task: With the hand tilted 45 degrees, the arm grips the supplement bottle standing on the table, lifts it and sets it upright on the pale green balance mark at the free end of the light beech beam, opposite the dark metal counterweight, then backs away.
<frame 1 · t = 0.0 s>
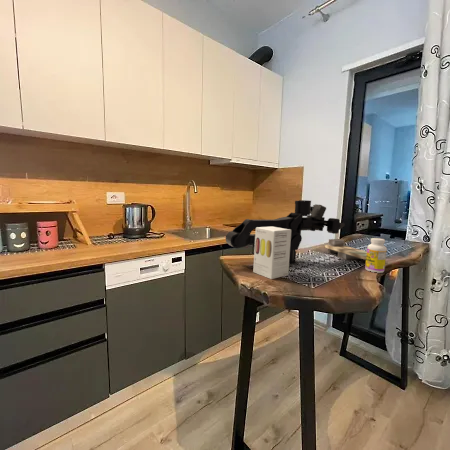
hand: (336, 223, 117), 17 cm above the table, tool horizontal, fingers open, 9 cm apart
supplement bottle: (374, 271, 101), on the table
supplement box: (270, 274, 93), on the table
balance beam: (349, 257, 122), on the table
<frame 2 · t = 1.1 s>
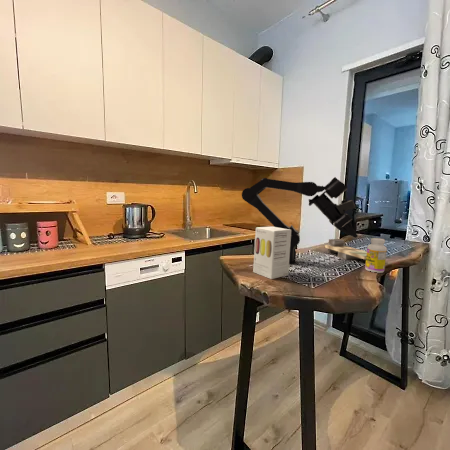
hand: (354, 235, 102), 14 cm above the table, tool tilted 45°, fingers open, 9 cm apart
nothing on the table moved.
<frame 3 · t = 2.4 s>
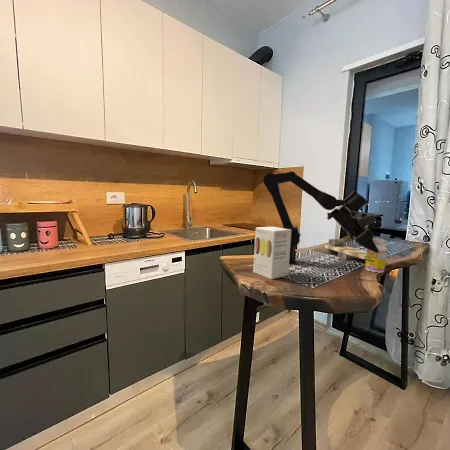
hand: (374, 249, 100), 8 cm above the table, tool tilted 45°, fingers open, 9 cm apart
nothing on the table moved.
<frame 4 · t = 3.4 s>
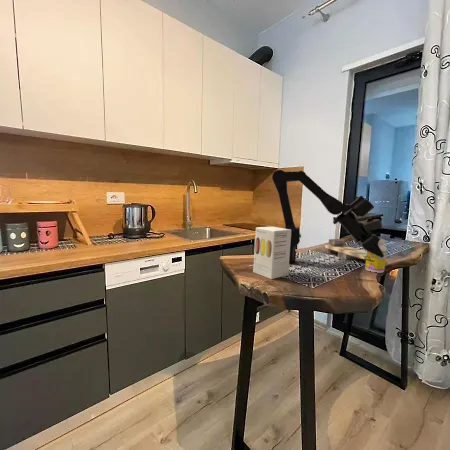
hand: (380, 254, 100), 7 cm above the table, tool tilted 45°, fingers closed on supplement bottle, 7 cm apart
supplement bottle: (374, 271, 101), on the table, touching gripper
everything else where it was.
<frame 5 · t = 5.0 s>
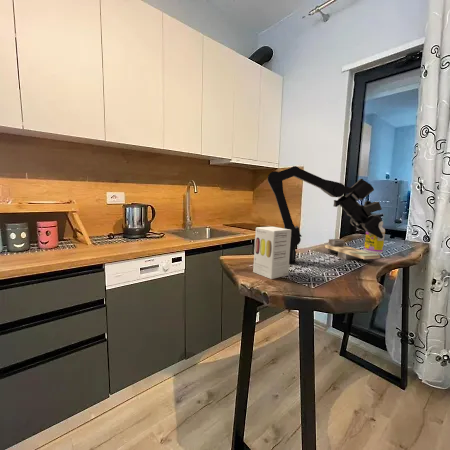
hand: (378, 236, 103), 13 cm above the table, tool tilted 45°, fingers closed on supplement bottle, 7 cm apart
supplement bottle: (373, 252, 104), point 6 cm above the table, touching gripper
everything else where it was.
when the fingers open (12 cm above the table, at t = 6.4 s): supplement bottle drops 1 cm, resting on balance beam.
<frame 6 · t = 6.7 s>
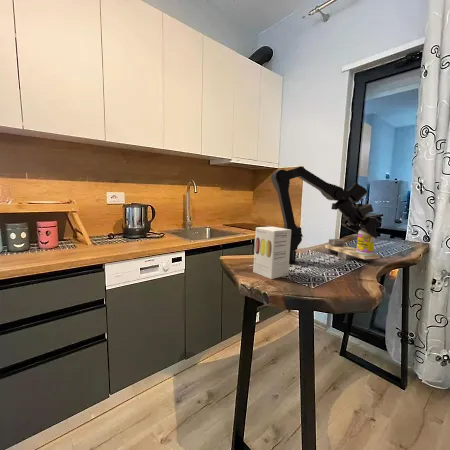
hand: (369, 235, 113), 12 cm above the table, tool tilted 45°, fingers open, 9 cm apart
supplement bottle: (364, 253, 114), point 4 cm above the table, touching balance beam
everything else where it was.
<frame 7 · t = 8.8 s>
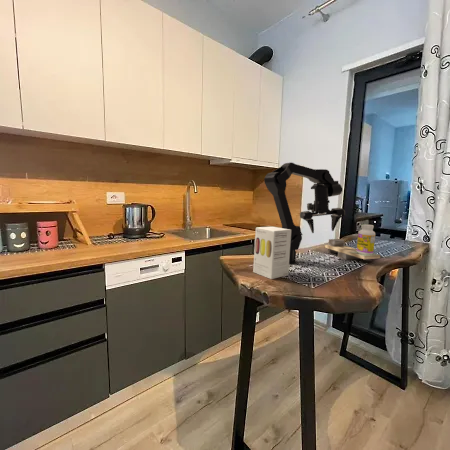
hand: (322, 231, 118), 12 cm above the table, tool pointing down, fingers open, 9 cm apart
nothing on the table moved.
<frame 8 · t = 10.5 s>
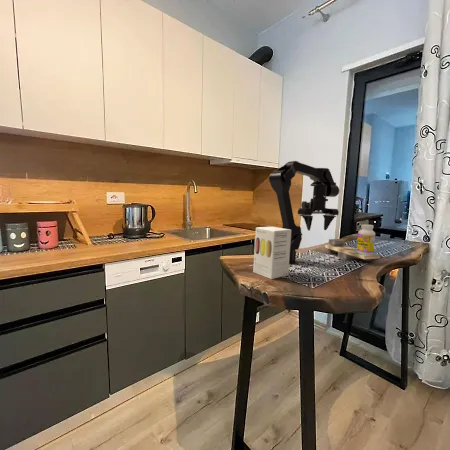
hand: (317, 230, 118), 13 cm above the table, tool pointing down, fingers open, 9 cm apart
nothing on the table moved.
at the end: supplement bottle inside the target area (0.2 cm from its centre), point 3.8 cm above the table; supplement bottle tilted 0°; the gripper is holding nothing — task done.
